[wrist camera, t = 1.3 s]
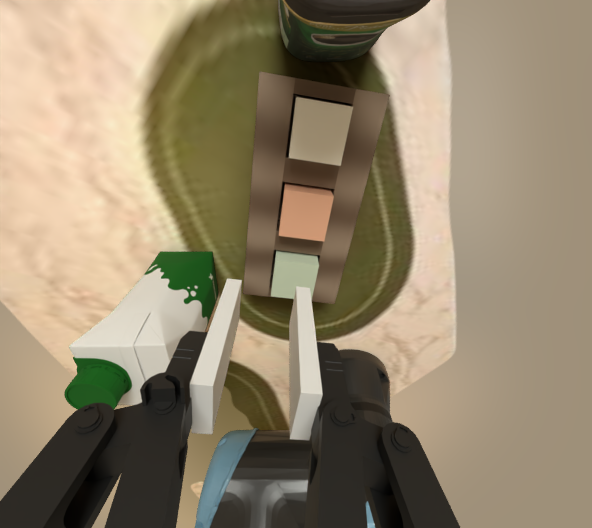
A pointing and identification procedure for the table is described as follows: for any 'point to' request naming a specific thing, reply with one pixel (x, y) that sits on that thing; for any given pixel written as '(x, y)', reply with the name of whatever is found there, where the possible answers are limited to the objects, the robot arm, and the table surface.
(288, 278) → the sage button
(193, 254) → the milk carton
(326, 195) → the terracotta button
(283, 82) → the button console
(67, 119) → the table surface
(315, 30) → the coffee jar
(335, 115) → the cream button
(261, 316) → the table surface
